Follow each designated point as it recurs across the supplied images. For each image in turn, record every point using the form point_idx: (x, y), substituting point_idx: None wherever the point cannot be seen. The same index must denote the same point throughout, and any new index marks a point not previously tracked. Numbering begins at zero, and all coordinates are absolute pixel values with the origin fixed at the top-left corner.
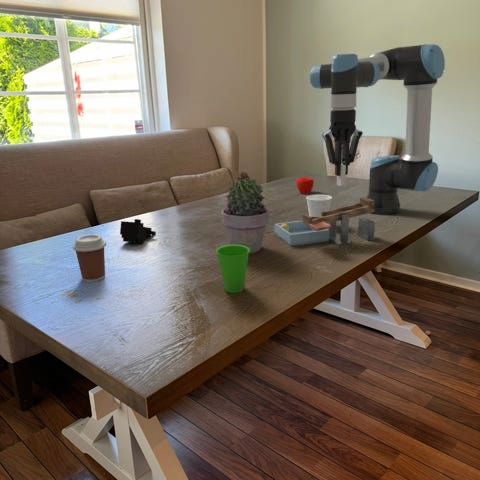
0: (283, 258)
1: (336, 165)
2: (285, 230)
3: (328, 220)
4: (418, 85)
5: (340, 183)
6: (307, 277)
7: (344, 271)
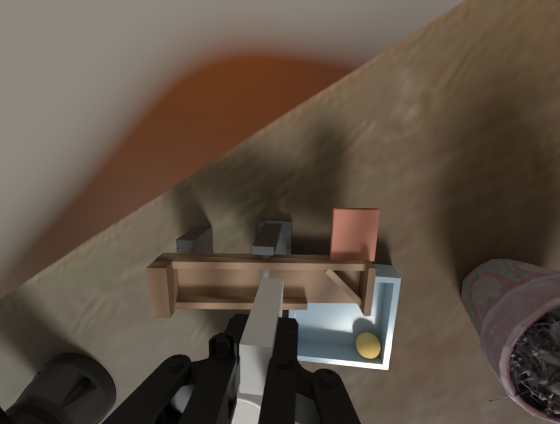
0: (452, 197)
1: (300, 368)
2: (392, 313)
3: (311, 257)
4: None
5: (282, 289)
6: (474, 60)
7: (371, 64)
